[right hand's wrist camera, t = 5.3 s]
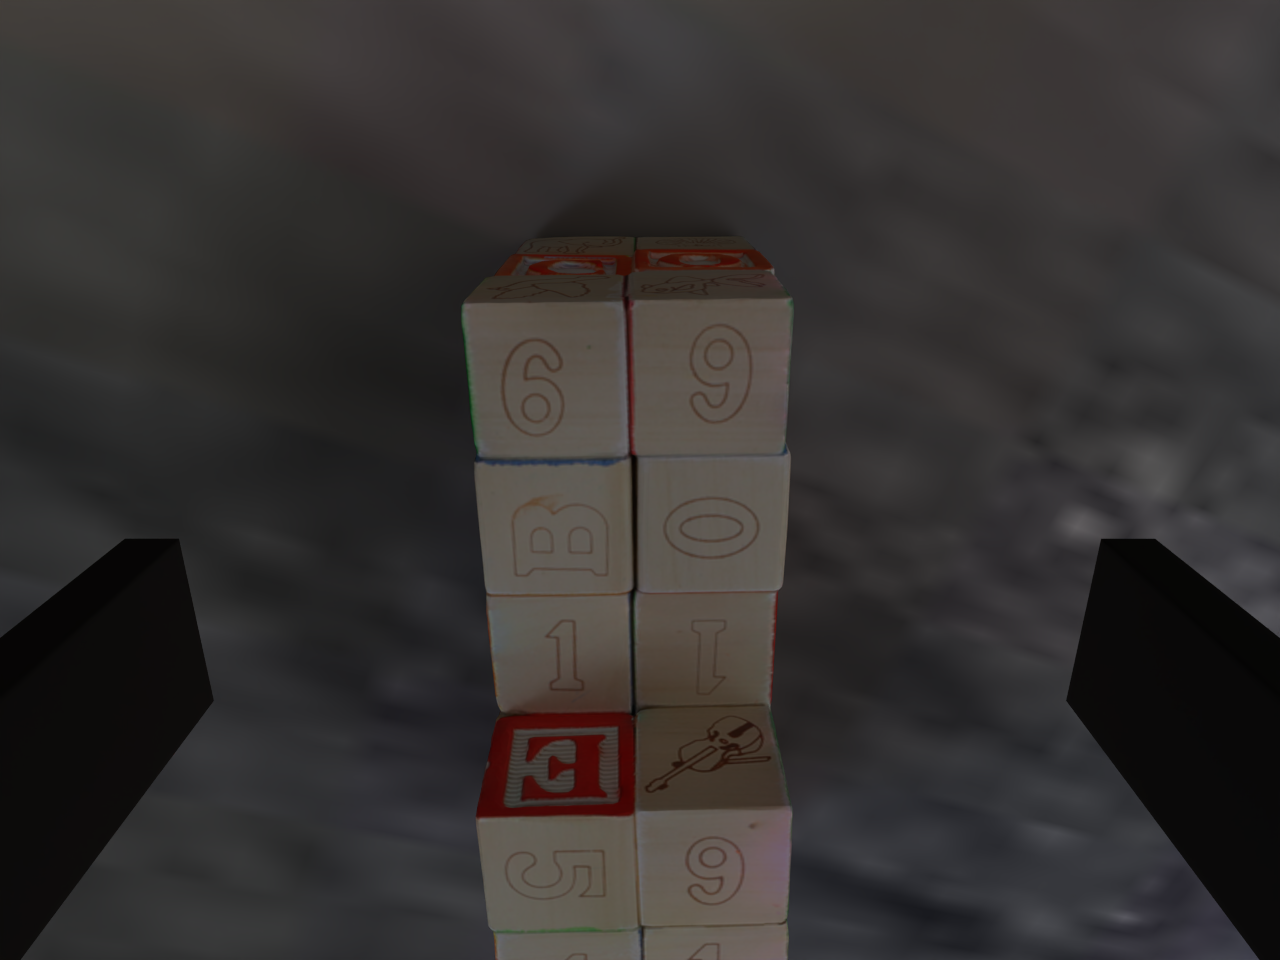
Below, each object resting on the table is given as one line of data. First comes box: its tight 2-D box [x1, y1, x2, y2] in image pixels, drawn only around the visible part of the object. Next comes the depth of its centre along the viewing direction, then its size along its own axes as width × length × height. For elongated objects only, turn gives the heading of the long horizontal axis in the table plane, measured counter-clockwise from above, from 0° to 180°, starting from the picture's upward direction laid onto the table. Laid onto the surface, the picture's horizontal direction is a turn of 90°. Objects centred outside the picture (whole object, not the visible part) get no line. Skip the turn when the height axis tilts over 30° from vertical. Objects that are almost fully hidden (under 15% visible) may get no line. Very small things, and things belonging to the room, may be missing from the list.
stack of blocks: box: [461, 236, 794, 960], centre depth 23 cm, size 21×6×12 cm, turn 0°
